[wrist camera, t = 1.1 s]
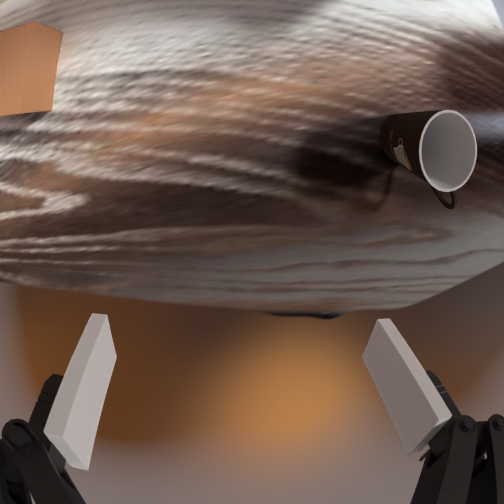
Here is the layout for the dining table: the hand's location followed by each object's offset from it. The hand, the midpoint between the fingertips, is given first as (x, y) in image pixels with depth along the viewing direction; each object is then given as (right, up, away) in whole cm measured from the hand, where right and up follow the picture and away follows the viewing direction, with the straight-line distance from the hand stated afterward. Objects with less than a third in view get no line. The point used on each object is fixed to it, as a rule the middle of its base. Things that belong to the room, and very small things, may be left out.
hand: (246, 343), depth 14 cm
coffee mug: (+19, +17, +21) cm, 33 cm away
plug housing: (-25, +26, +11) cm, 38 cm away
